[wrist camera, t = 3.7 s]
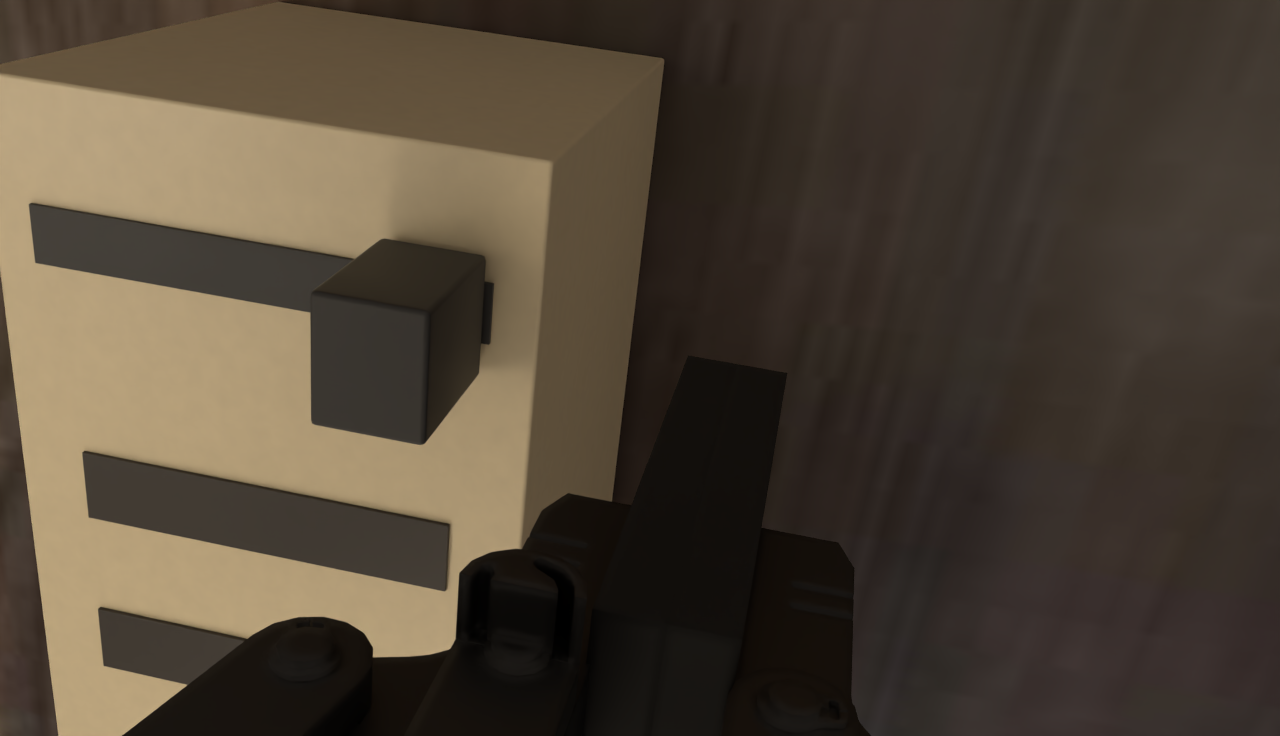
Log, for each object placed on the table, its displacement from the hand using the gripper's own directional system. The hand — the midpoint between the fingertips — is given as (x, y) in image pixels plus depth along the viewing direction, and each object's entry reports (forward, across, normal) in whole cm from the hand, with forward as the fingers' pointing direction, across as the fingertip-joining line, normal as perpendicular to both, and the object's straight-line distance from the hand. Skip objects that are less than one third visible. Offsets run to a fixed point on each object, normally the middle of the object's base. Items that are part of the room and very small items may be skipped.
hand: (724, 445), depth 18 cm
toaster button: (+3, -6, 0) cm, 7 cm away
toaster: (+15, -9, -5) cm, 19 cm away
